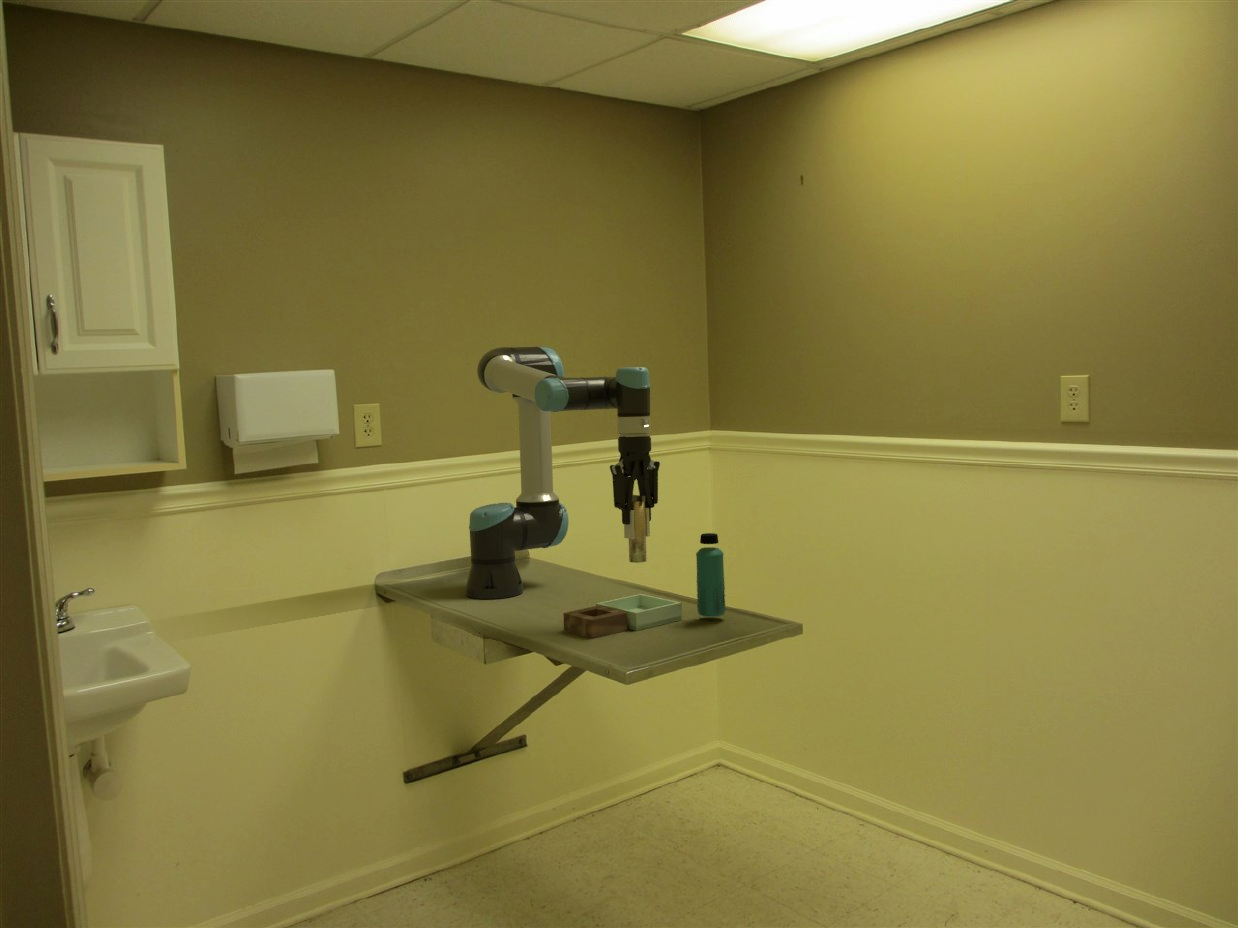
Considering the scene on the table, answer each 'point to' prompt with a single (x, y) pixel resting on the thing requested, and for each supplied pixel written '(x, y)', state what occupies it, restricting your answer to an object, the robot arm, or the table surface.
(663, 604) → the tray
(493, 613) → the table surface
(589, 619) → the block
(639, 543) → the amber rounded cylinder
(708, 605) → the beverage bottle
